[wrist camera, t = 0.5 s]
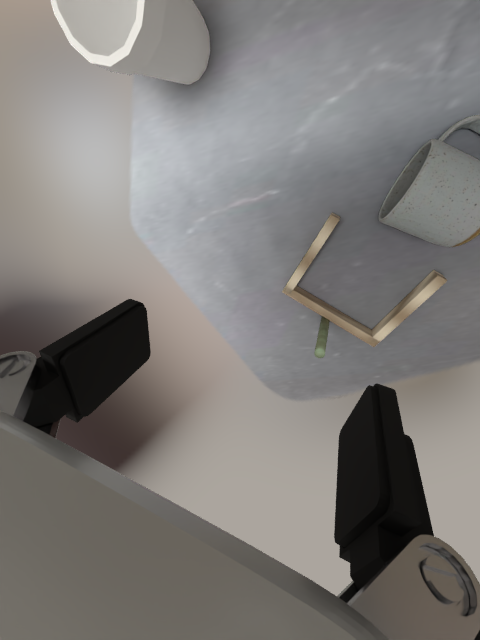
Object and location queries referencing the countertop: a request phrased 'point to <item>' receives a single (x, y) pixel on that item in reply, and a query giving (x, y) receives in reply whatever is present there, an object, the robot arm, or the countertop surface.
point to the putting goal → (344, 321)
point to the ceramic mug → (437, 193)
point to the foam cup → (138, 36)
